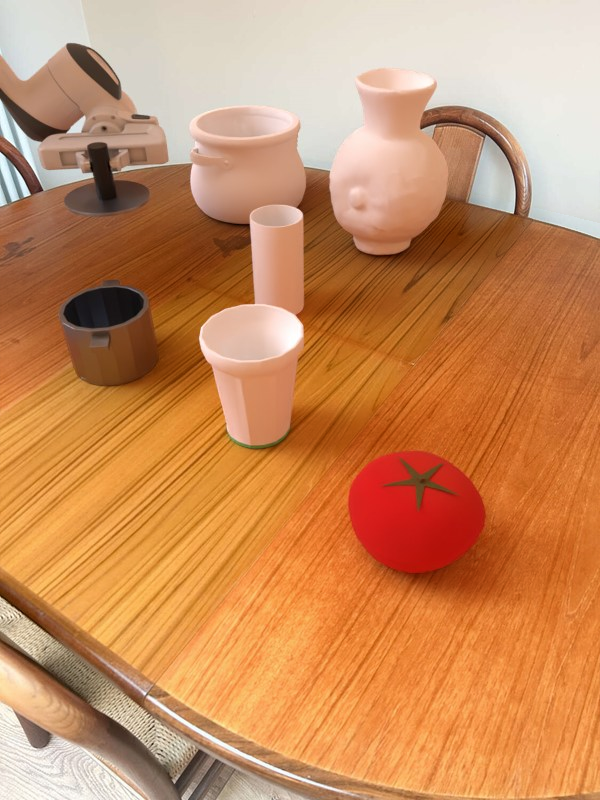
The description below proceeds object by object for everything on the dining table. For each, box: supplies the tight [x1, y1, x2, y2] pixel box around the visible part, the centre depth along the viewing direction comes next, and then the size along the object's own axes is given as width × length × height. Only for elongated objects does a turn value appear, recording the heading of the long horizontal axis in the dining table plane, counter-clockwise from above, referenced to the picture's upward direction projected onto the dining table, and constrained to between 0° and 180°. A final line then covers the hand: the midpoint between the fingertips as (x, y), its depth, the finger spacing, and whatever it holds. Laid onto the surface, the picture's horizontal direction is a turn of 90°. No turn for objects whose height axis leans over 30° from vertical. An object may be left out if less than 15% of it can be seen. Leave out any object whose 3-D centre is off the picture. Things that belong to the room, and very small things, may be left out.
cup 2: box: [198, 303, 305, 449], centre depth 82 cm, size 12×12×15 cm
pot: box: [188, 104, 307, 225], centre depth 137 cm, size 26×24×18 cm
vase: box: [328, 67, 450, 256], centre depth 117 cm, size 19×21×30 cm
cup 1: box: [249, 205, 305, 316], centre depth 105 cm, size 8×8×16 cm
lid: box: [63, 142, 151, 218], centre depth 102 cm, size 13×13×9 cm
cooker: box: [57, 279, 159, 387], centre depth 96 cm, size 12×18×10 cm
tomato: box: [347, 450, 487, 574], centre depth 69 cm, size 14×13×10 cm
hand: (100, 167), depth 101 cm, fingers closed on lid, 3 cm apart
